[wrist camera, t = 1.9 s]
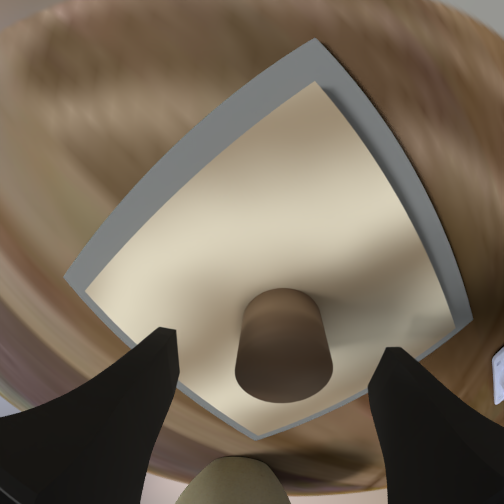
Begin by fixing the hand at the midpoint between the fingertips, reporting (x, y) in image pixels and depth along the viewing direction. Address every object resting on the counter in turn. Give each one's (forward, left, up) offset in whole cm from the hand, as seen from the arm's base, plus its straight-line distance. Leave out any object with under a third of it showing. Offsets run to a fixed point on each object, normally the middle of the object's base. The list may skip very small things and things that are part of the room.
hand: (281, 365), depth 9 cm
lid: (0, 0, -3) cm, 3 cm away
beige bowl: (-12, +13, -4) cm, 18 cm away
